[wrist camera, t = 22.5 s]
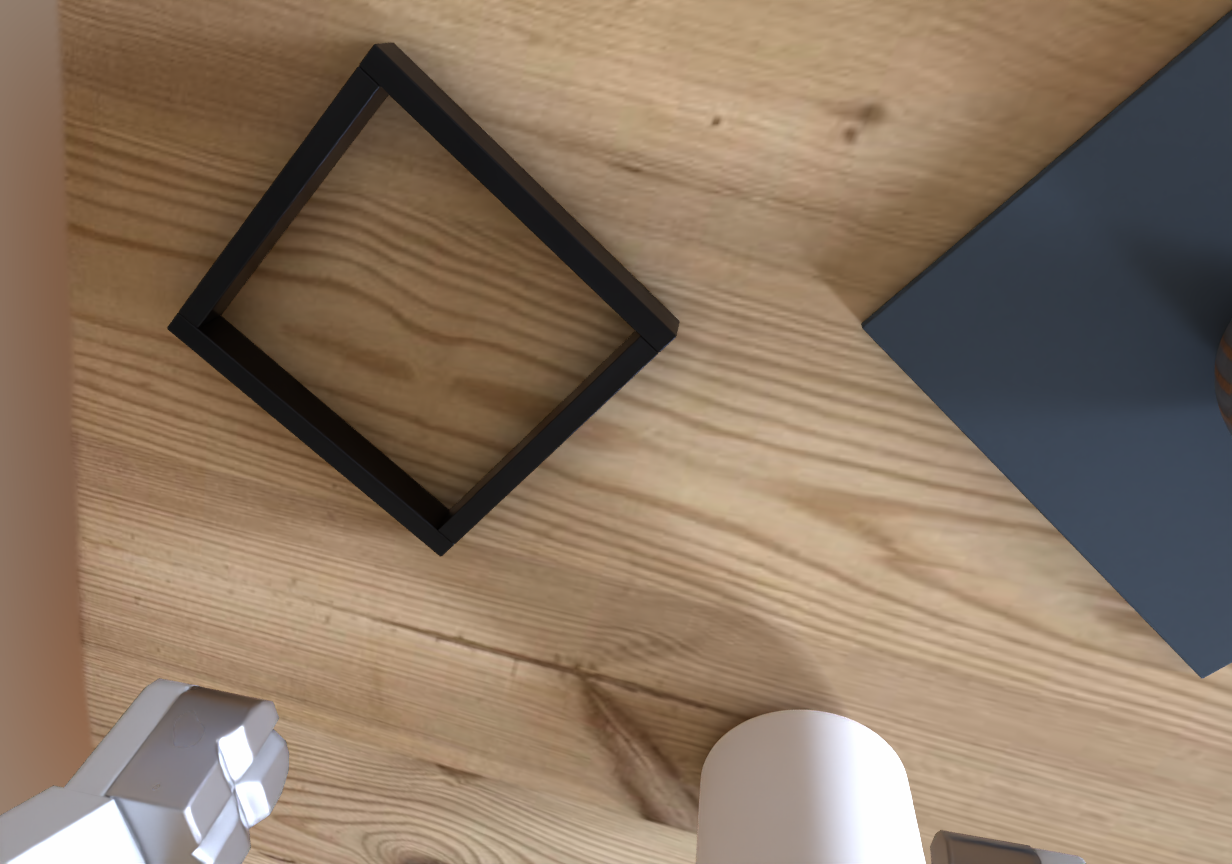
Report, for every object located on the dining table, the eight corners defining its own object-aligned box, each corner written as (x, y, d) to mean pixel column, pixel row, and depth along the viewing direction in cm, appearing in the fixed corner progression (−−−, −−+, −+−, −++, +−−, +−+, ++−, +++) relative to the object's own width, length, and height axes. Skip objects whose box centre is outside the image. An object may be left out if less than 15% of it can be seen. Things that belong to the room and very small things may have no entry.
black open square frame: (190, 314, 31) (165, 328, 30) (393, 41, 26) (374, 43, 25) (452, 535, 34) (440, 557, 32) (680, 321, 29) (676, 336, 28)
